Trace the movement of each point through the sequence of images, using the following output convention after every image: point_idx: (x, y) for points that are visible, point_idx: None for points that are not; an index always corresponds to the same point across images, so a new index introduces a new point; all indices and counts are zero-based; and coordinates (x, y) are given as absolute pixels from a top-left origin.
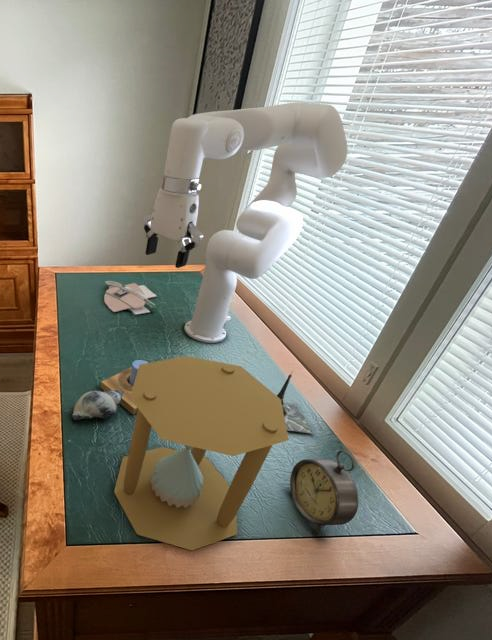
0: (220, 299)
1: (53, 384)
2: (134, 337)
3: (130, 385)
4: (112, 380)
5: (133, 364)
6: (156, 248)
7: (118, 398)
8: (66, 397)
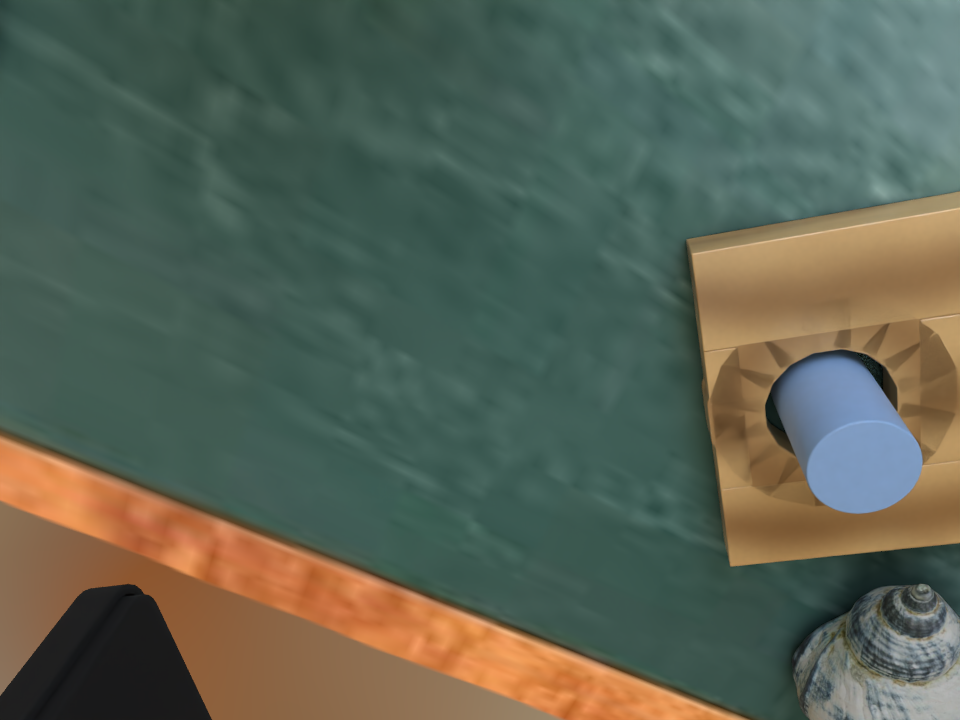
0: None
1: (599, 688)
2: (361, 103)
3: None
4: (753, 518)
5: (833, 503)
6: (101, 655)
7: (958, 636)
8: (707, 682)
